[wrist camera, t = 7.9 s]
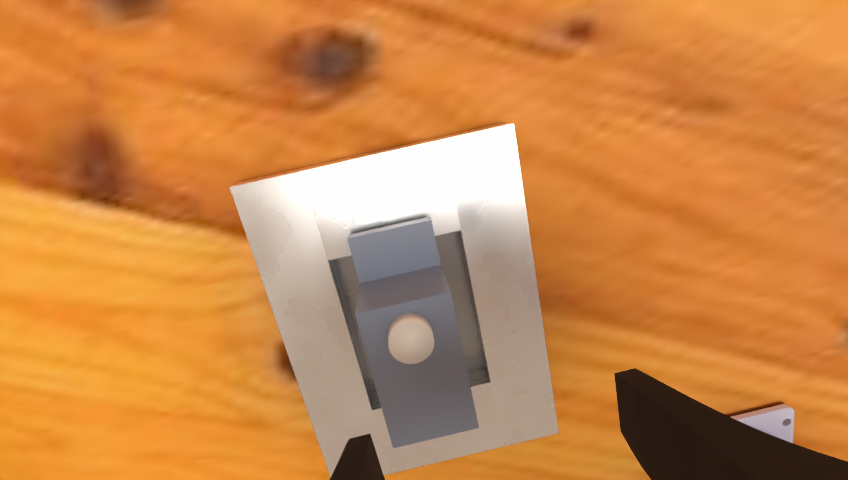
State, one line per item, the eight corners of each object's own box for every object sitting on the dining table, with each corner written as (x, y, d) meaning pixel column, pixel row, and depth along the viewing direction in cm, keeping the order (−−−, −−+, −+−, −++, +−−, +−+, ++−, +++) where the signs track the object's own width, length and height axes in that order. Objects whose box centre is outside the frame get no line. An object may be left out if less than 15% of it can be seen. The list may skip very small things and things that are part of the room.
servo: (464, 387, 23) (491, 483, 17) (399, 401, 23) (404, 504, 17) (425, 206, 20) (442, 246, 14) (351, 223, 20) (337, 270, 14)
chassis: (547, 412, 24) (559, 433, 23) (337, 463, 24) (333, 487, 23) (503, 122, 20) (513, 123, 18) (241, 181, 19) (229, 187, 18)
